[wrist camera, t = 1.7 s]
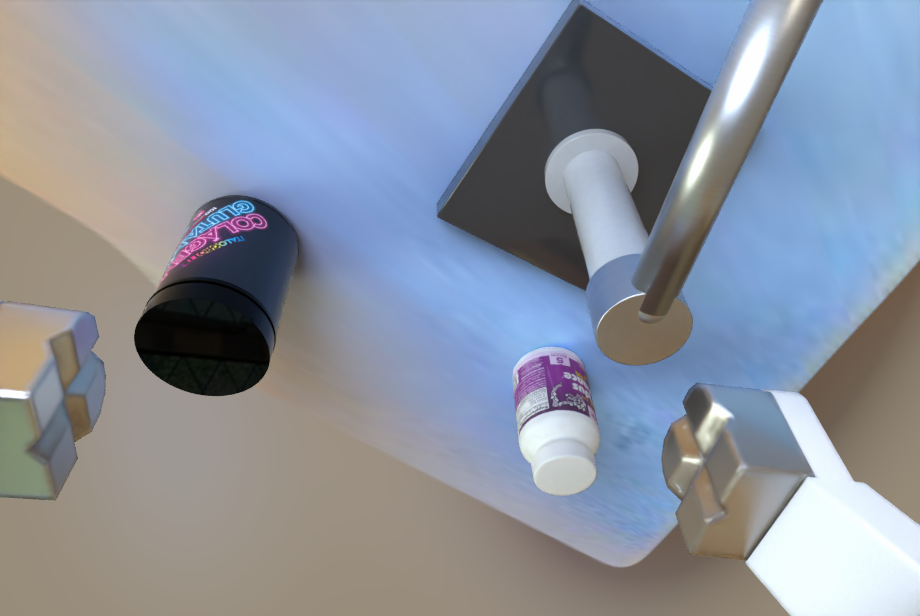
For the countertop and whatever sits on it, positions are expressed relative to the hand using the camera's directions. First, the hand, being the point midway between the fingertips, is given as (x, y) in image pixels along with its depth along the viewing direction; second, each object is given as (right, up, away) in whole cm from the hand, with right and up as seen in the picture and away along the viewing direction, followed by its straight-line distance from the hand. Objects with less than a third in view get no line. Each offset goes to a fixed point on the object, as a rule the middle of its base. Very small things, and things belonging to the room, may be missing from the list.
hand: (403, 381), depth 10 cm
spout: (+10, +7, +19) cm, 22 cm away
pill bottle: (+7, -3, +42) cm, 43 cm away
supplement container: (-12, +6, +35) cm, 37 cm away
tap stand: (+8, +10, +32) cm, 34 cm away
